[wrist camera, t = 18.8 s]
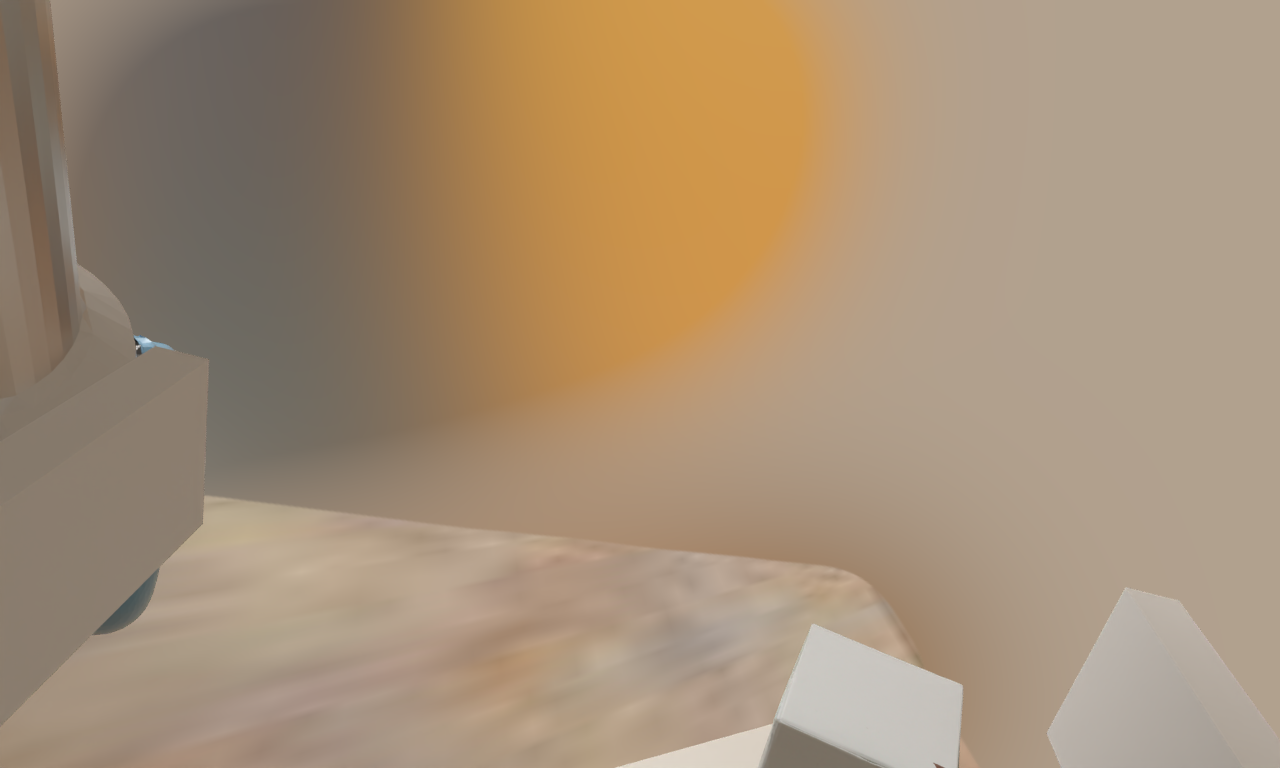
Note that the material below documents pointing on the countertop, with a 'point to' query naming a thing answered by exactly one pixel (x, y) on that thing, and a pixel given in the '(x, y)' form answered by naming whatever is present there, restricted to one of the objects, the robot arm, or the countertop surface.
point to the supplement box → (863, 711)
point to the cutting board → (715, 753)
